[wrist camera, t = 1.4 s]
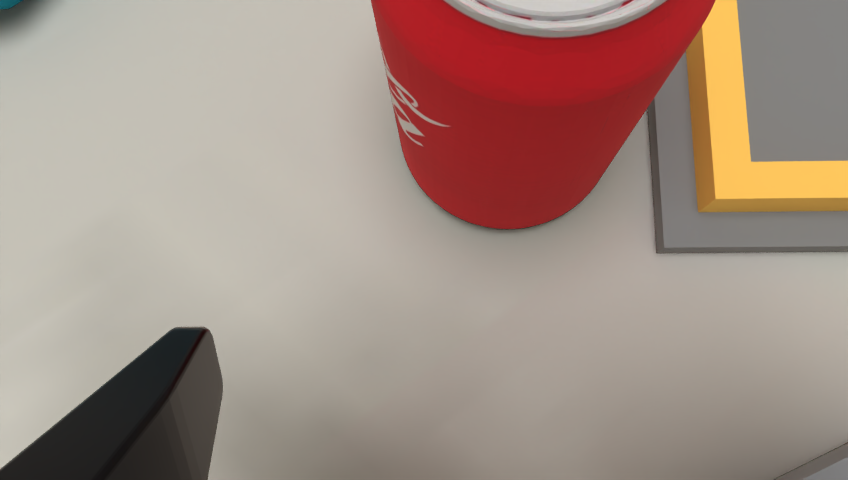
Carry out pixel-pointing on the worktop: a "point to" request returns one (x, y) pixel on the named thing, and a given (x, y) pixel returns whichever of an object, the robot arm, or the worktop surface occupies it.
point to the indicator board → (822, 467)
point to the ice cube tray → (8, 3)
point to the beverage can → (524, 94)
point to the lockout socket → (755, 132)
